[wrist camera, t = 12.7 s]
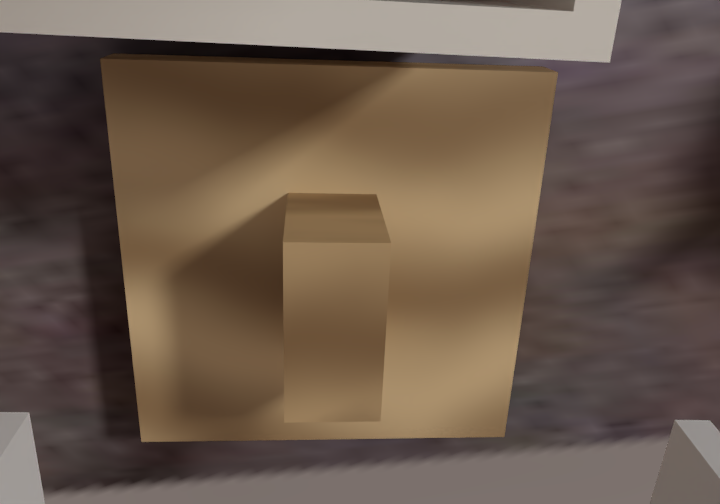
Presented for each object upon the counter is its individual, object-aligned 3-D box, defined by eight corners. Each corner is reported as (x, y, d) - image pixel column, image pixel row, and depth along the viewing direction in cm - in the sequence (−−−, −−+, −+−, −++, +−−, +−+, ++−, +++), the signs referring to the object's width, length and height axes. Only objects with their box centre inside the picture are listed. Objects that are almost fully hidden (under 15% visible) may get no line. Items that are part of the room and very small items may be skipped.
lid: (113, 53, 22) (46, 80, 16) (542, 66, 23) (617, 96, 17) (149, 418, 27) (109, 531, 22) (494, 414, 28) (539, 520, 23)
